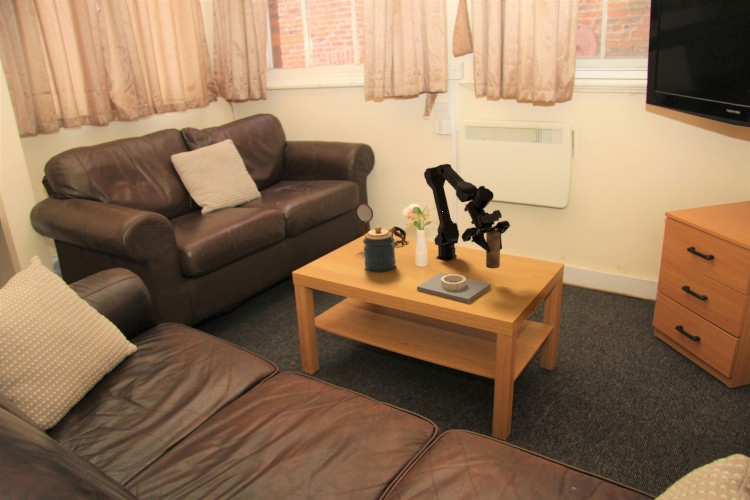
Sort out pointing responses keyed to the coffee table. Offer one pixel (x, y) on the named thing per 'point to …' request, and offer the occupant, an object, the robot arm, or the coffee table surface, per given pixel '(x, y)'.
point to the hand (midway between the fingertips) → (495, 250)
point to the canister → (379, 250)
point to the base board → (454, 294)
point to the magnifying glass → (365, 214)
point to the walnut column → (493, 249)
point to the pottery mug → (400, 235)
